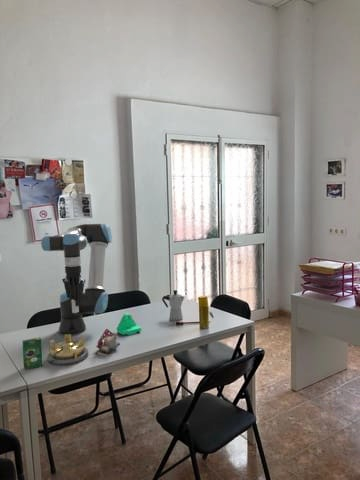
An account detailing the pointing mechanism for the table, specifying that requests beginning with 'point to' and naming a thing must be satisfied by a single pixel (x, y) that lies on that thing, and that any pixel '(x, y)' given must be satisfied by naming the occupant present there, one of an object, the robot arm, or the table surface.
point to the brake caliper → (107, 342)
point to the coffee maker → (174, 305)
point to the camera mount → (127, 325)
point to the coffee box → (32, 353)
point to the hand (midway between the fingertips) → (75, 312)
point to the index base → (68, 361)
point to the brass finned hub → (67, 348)
